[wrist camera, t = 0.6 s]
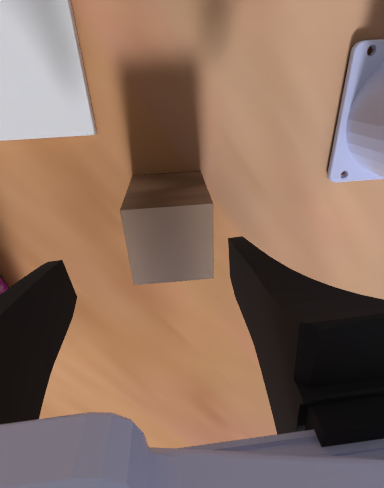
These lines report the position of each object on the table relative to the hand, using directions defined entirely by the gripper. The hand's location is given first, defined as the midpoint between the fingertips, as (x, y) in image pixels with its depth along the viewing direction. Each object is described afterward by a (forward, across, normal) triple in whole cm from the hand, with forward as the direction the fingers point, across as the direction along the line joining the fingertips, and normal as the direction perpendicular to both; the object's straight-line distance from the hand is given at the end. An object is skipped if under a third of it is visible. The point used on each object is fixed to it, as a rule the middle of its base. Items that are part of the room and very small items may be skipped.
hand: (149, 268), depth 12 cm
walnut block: (+8, -1, 0) cm, 9 cm away
